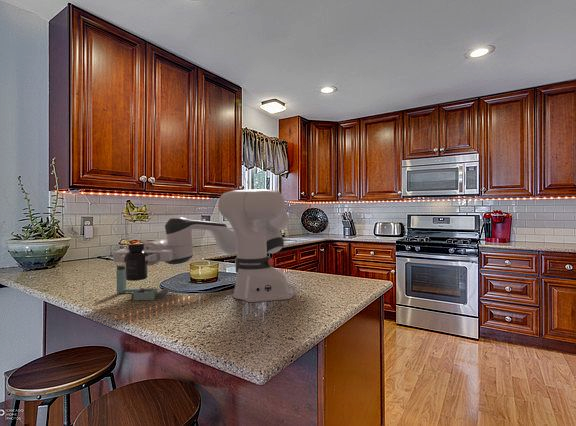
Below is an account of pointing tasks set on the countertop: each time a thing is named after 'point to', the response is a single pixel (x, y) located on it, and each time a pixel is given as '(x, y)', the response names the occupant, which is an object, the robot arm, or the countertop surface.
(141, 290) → the channel
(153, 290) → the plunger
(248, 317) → the countertop surface
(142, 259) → the supplement bottle
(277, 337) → the countertop surface
